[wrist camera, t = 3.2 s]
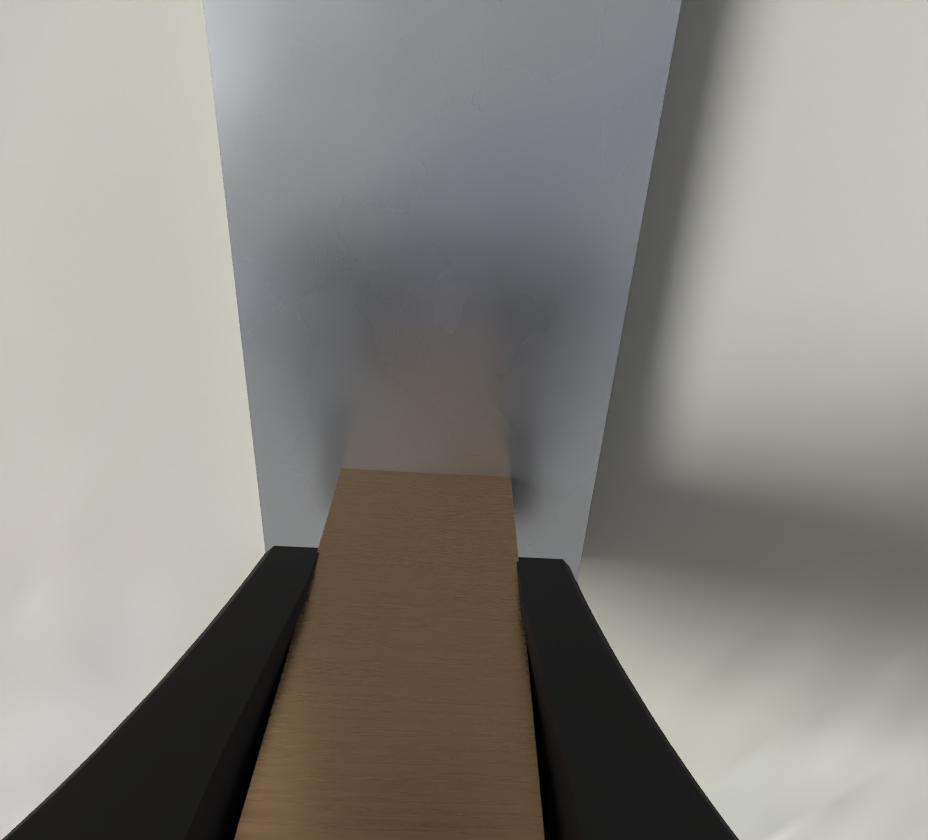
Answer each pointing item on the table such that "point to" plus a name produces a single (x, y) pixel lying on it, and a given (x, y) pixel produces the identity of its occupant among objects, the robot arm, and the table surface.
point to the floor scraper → (426, 370)
